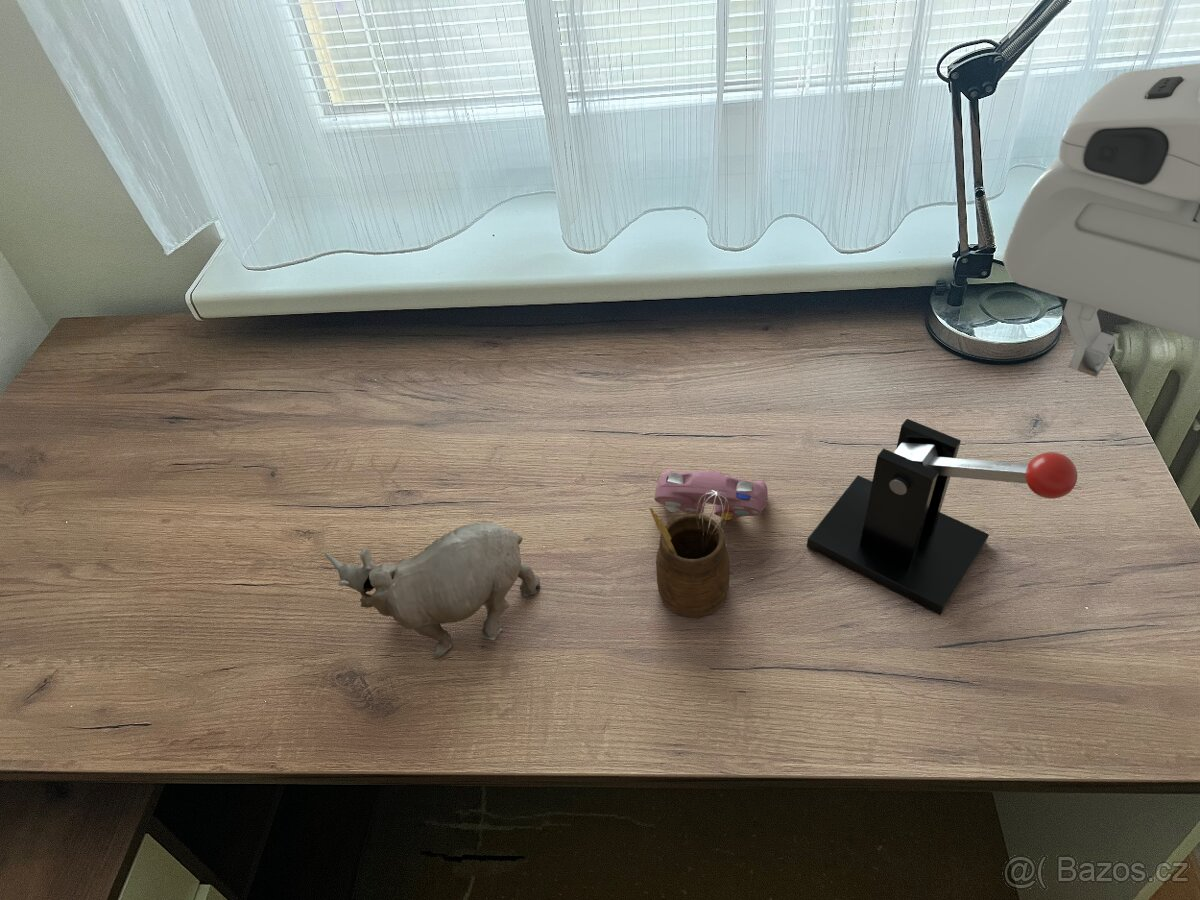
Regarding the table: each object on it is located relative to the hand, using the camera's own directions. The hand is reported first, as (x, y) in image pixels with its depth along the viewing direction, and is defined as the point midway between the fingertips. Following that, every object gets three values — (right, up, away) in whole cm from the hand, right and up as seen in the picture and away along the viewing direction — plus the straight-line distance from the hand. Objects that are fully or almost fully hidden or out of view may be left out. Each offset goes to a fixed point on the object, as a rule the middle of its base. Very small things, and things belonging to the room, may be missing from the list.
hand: (1181, 399), depth 45 cm
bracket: (-5, -11, +30) cm, 32 cm away
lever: (-2, -5, +19) cm, 20 cm away
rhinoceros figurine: (-43, -17, +28) cm, 54 cm away
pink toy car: (-20, -8, +34) cm, 40 cm away
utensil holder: (-22, -15, +28) cm, 39 cm away
